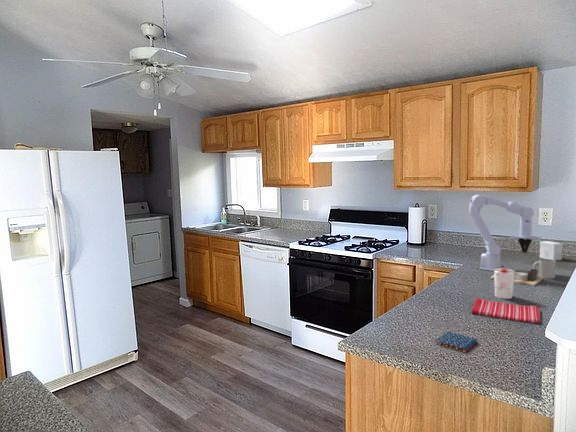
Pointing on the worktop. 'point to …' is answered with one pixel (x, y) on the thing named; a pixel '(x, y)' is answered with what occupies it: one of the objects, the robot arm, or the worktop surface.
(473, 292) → the worktop surface
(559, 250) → the skincare box
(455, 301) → the worktop surface
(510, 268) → the retention strap
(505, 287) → the canister
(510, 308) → the dish towel
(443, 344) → the woven mat
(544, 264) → the cup
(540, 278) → the board
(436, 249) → the worktop surface
